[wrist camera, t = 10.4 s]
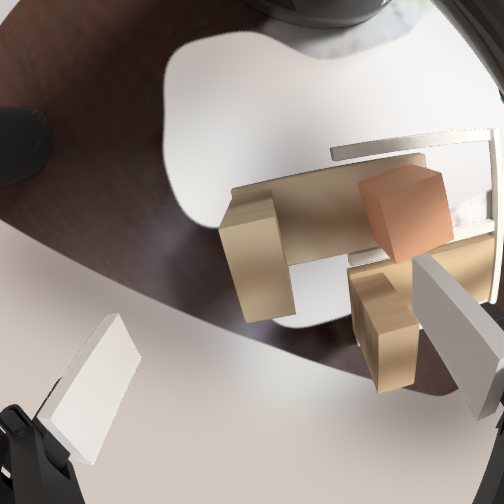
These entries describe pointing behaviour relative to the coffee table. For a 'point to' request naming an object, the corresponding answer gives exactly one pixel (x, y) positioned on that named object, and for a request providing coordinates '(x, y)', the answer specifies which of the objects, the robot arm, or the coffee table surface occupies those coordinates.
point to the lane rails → (499, 226)
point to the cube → (407, 211)
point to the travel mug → (22, 143)
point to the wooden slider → (296, 229)
